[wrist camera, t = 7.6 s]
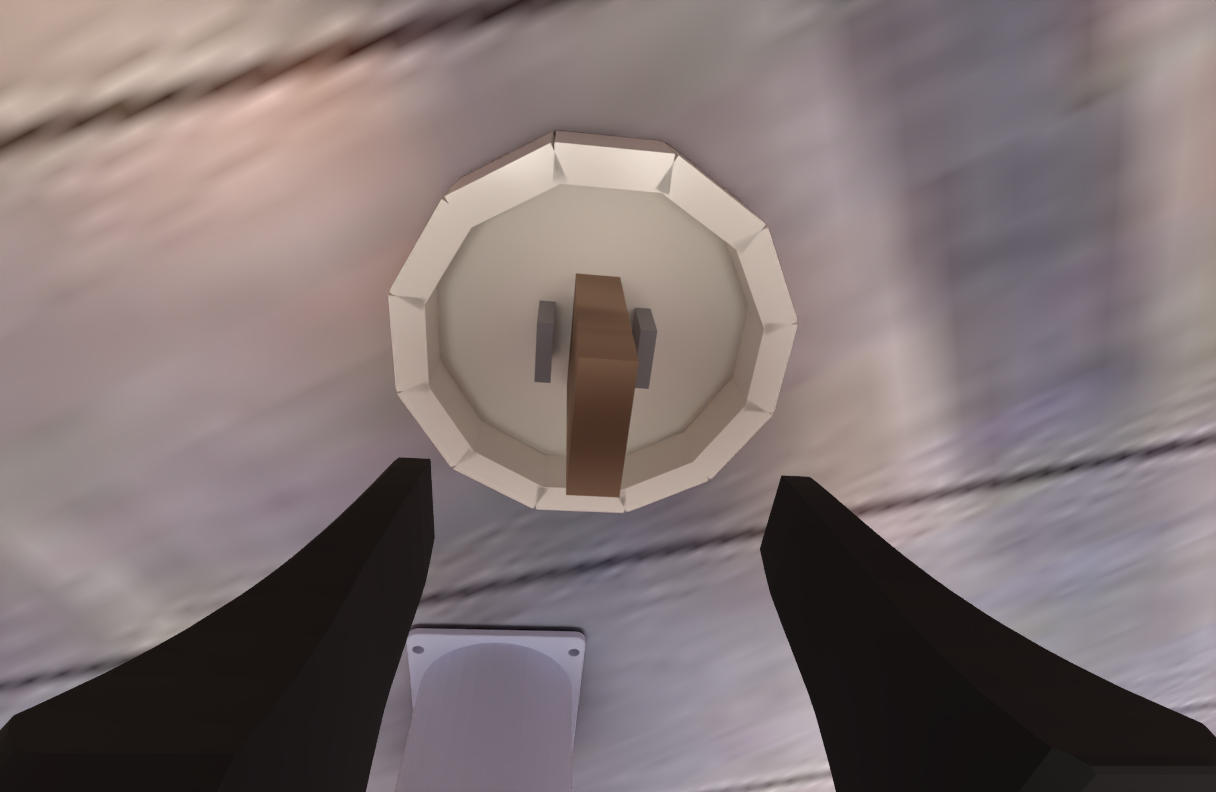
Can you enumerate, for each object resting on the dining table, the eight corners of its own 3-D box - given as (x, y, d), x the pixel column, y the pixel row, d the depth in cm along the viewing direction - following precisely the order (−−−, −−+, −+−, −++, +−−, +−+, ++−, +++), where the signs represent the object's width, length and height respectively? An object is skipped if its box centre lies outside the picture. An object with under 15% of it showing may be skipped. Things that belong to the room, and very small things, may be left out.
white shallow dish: (729, 475, 24) (745, 517, 22) (420, 461, 23) (405, 504, 21) (807, 155, 18) (839, 169, 16) (398, 114, 17) (373, 124, 15)
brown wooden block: (606, 387, 21) (619, 497, 16) (566, 384, 21) (566, 494, 16) (620, 277, 19) (638, 361, 14) (575, 273, 19) (578, 357, 14)
